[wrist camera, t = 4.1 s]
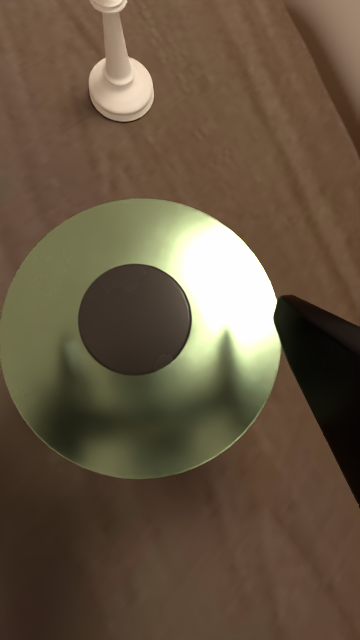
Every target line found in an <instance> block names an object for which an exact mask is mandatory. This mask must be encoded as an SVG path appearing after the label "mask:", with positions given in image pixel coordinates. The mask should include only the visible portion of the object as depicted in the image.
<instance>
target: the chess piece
mask: <svg viewBox="0 0 360 640" xmlns="http://www.w3.org/2000/svg"><path fill="white" fill-rule="evenodd" d="M90 2H91V4H92V6H93V7H94V8H95V9H96V10H98V11H100V12H102V18H103V28H104V40H105V54H106V58H104V59H102V60H101V61H99V62H98V63H97V64H96V65H95V66H94V68H93V69H92V71H91V73H90V76H89V91H90V98H91V101H92V103H93V105H94V106H95V108H96V109H97V110H98V111H99V112H100V113H101V114H102V115H104V116H105V117H107V118H109V119H112V120H115V121H121V122H126V121H133V120H136V119H138V118H140V117H142V116H143V115H144V114H146V113H147V111H148V110H149V109H150V107H151V105H152V103H153V99H154V90H153V84H152V79H151V76H150V74H149V72H148V71H147V69H146V68H145V67H144V66H143V65H142V64H141V63H139V62H138V61H136V60H135V59H133V58H130V57H128V54H127V50H126V45H125V40H124V36H123V31H122V26H121V21H120V16H119V12H120V11H121V10H123V9H124V7H125V6H126V4H127V0H90Z"/></svg>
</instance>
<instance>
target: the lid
mask: <svg viewBox="0 0 360 640" xmlns="http://www.w3.org/2000/svg"><path fill="white" fill-rule="evenodd" d="M276 303H277V298H276V295H275V292H274V289H273V286H272V284H271V282H270V280H269V278H268V276H267V273H266V271H265V269H264V268H263V266H262V265H261V263H260V262H259V260H258V258H257V257H256V255H255V254H254V253H253V252H252V250H251V249H250V248H249V247H248V246H247V244H246V243H245V242H244V241H243V240H242V239H241V238H240V237H239V236H238V235H236V234H235V233H234V232H233V231H232V230H231V229H230V228H228V227H227V226H225V225H224V224H223V223H221V222H220V221H219V220H217V219H215V218H213V217H212V216H210V215H208V214H206V213H204V212H202V211H200V210H197V209H195V208H192V207H190V206H187V205H184V204H180V203H176V202H173V201H168V200H161V199H153V198H132V199H123V200H116V201H112V202H108V203H103V204H99V205H97V206H94V207H92V208H89V209H86V210H84V211H82V212H80V213H78V214H76V215H74V216H72V217H70V218H68V219H67V220H65V221H64V222H62V223H61V224H59V225H58V226H57V227H55V228H54V229H52V230H51V231H50V232H49V233H48V234H47V235H46V236H45V237H44V238H42V239H41V240H40V241H39V242H38V243H37V244H36V246H35V247H34V248H33V249H32V250H31V252H30V253H29V254H28V255H27V256H26V258H25V259H24V261H23V263H22V264H21V266H20V267H19V269H18V270H17V272H16V274H15V276H14V278H13V280H12V283H11V285H10V287H9V289H8V292H7V295H6V299H5V302H4V305H3V309H2V315H1V321H0V360H1V367H2V371H3V374H4V378H5V382H6V385H7V388H8V390H9V393H10V395H11V397H12V400H13V402H14V404H15V406H16V407H17V409H18V411H19V412H20V414H21V416H22V417H23V419H24V420H25V422H26V423H27V424H28V425H29V427H30V428H31V429H32V430H33V432H34V433H35V434H36V435H37V436H38V437H39V438H40V439H41V440H42V441H43V442H44V443H45V444H47V445H48V446H49V447H50V448H51V449H52V450H54V451H55V452H57V453H58V454H60V455H61V456H62V457H64V458H65V459H67V460H69V461H71V462H73V463H75V464H77V465H79V466H81V467H83V468H85V469H88V470H91V471H94V472H97V473H99V474H103V475H108V476H113V477H118V478H127V479H150V478H161V477H166V476H170V475H175V474H179V473H182V472H185V471H187V470H190V469H193V468H196V467H198V466H200V465H202V464H204V463H206V462H208V461H209V460H211V459H213V458H215V457H216V456H218V455H219V454H221V453H222V452H223V451H225V450H226V449H228V448H229V447H230V446H231V445H232V444H233V443H235V442H236V441H237V440H238V439H239V438H240V437H241V436H242V435H243V434H244V433H245V432H246V431H247V429H248V428H249V427H250V426H251V424H252V423H253V422H254V421H255V420H256V418H257V416H258V415H259V413H260V412H261V410H262V408H263V407H264V405H265V403H266V401H267V399H268V397H269V395H270V393H271V390H272V388H273V385H274V382H275V379H276V376H277V373H278V369H279V363H280V357H281V349H282V345H281V342H280V339H279V337H278V334H277V331H276V328H275V325H274V322H273V314H274V310H275V307H276Z"/></svg>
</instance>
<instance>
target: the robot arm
mask: <svg viewBox="0 0 360 640" xmlns="http://www.w3.org/2000/svg"><path fill="white" fill-rule="evenodd" d="M273 322H274V325H275V328H276V331H277V334H278V337H279V339H280V342H281V345H282V348H283V351H284V353H285V356H286V359H287V361H288V363H289V365H290V368H291V370H292V372H293V374H294V376H295V378H296V380H297V382H298V384H299V386H300V388H301V390H302V392H303V394H304V396H305V398H306V400H307V402H308V404H309V406H310V408H311V410H312V412H313V414H314V416H315V418H316V420H317V422H318V424H319V426H320V428H321V430H322V432H323V434H324V436H325V438H326V440H327V442H328V444H329V446H330V448H331V450H332V452H333V455H334V457H335V459H336V461H337V463H338V465H339V467H340V469H341V471H342V473H343V475H344V477H345V479H346V481H347V483H348V485H349V487H350V489H351V491H352V493H353V495H354V497H355V499H356V501H357V503H358V504H359V508H360V327H359V326H357V325H354V324H352V323H350V322H348V321H346V320H344V319H342V318H340V317H338V316H336V315H334V314H332V313H329V312H327V311H325V310H323V309H321V308H319V307H317V306H315V305H313V304H311V303H309V302H307V301H304V300H302V299H300V298H298V297H296V296H294V295H283V296H280V297H279V298H278V300H277V303H276V307H275V310H274V314H273Z"/></svg>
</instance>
